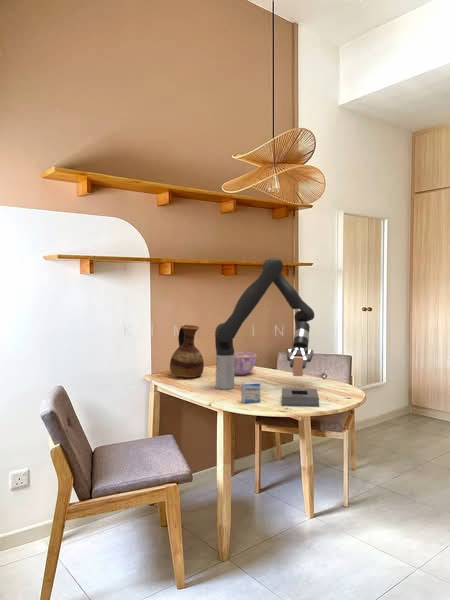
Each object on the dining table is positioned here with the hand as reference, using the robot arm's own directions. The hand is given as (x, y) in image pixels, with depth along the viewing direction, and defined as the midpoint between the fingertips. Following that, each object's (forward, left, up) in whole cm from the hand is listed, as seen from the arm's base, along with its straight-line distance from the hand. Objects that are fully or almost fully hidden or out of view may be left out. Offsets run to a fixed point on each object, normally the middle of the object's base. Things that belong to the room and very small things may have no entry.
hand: (297, 367), depth 218 cm
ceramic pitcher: (-63, +35, -13) cm, 73 cm away
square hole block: (0, -14, -13) cm, 19 cm away
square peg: (0, +2, -4) cm, 5 cm away
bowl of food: (-33, +45, -13) cm, 57 cm away
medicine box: (-22, -17, -13) cm, 30 cm away
